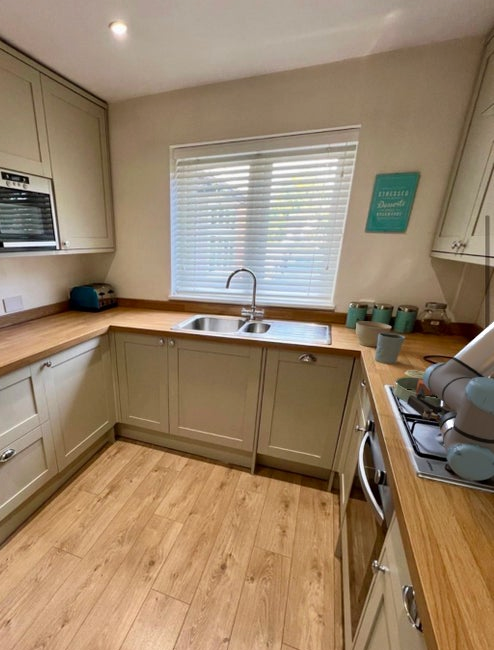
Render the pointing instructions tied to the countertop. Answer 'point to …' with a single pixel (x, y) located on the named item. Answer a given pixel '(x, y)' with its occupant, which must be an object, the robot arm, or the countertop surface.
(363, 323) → the planter bowl
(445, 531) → the countertop surface
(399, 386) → the bowl
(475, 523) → the countertop surface
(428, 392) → the block
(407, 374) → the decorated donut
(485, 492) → the countertop surface
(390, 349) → the blue grey cup
